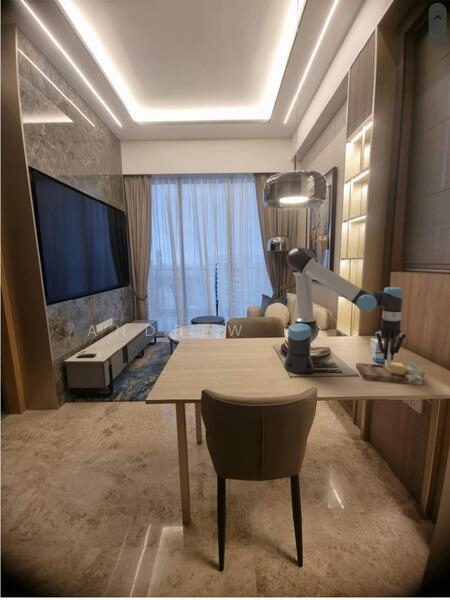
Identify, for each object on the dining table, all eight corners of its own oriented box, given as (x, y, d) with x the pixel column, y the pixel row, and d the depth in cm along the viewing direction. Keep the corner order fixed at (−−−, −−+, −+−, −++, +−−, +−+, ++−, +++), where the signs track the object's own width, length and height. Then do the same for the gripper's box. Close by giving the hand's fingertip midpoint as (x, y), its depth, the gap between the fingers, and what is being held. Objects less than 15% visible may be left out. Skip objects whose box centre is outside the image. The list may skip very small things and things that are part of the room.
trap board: (363, 379, 119) (364, 367, 118) (355, 367, 133) (356, 356, 132) (423, 384, 113) (424, 372, 112) (409, 371, 126) (410, 360, 126)
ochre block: (390, 372, 120) (391, 366, 120) (386, 368, 125) (387, 362, 124) (404, 374, 119) (405, 367, 118) (400, 369, 123) (400, 363, 123)
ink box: (384, 363, 137) (386, 343, 135) (374, 362, 138) (376, 342, 136) (378, 357, 145) (379, 338, 144) (369, 357, 146) (370, 338, 145)
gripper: (378, 320, 117) (375, 367, 120) (410, 321, 113) (406, 370, 117) (373, 317, 124) (370, 361, 127) (403, 318, 120) (399, 363, 124)
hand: (387, 365), depth 122 cm, fingers closed
